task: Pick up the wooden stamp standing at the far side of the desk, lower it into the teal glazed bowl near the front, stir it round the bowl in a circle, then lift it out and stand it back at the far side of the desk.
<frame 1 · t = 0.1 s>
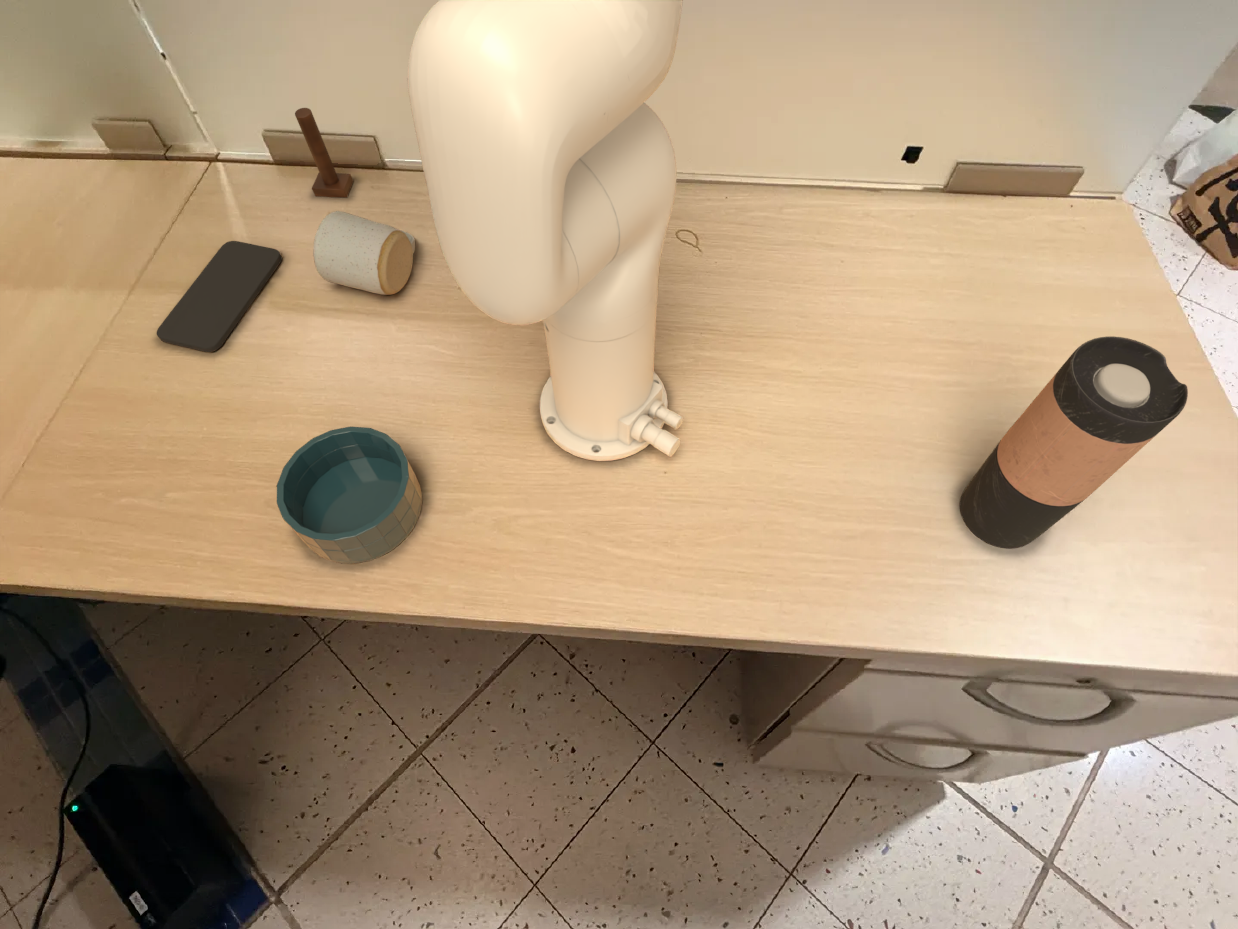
travel mug: (998, 514, 66), on the table
bowl: (361, 507, 67), on the table
wooden stamp: (334, 188, 90), on the table
ceramic mug: (379, 272, 83), on the table
phone: (224, 297, 81), on the table
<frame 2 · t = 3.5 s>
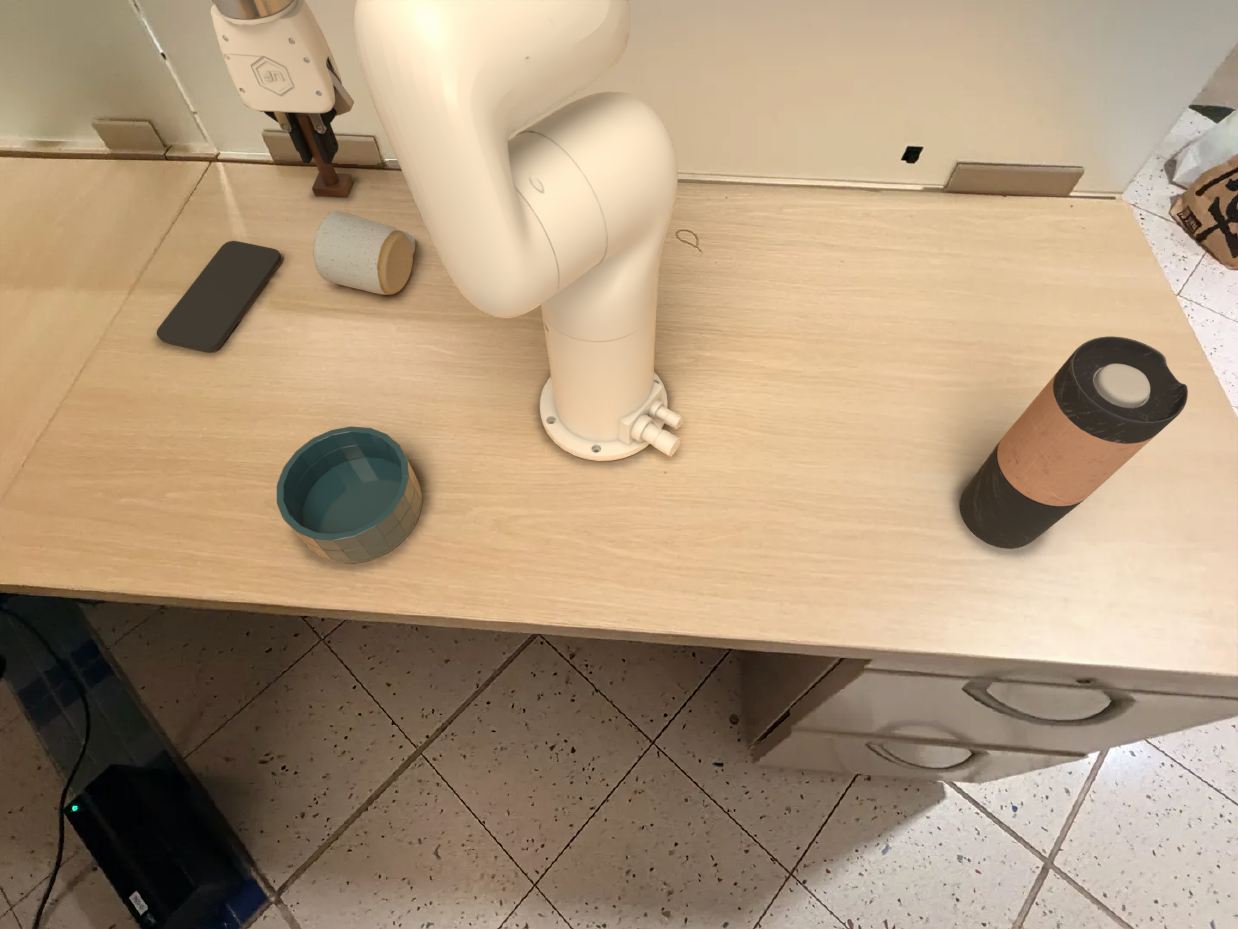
hand: (320, 155, 86), 5 cm above the table, tool pointing down, fingers closed on wooden stamp
wooden stamp: (334, 188, 90), on the table, touching gripper
everything else where it was.
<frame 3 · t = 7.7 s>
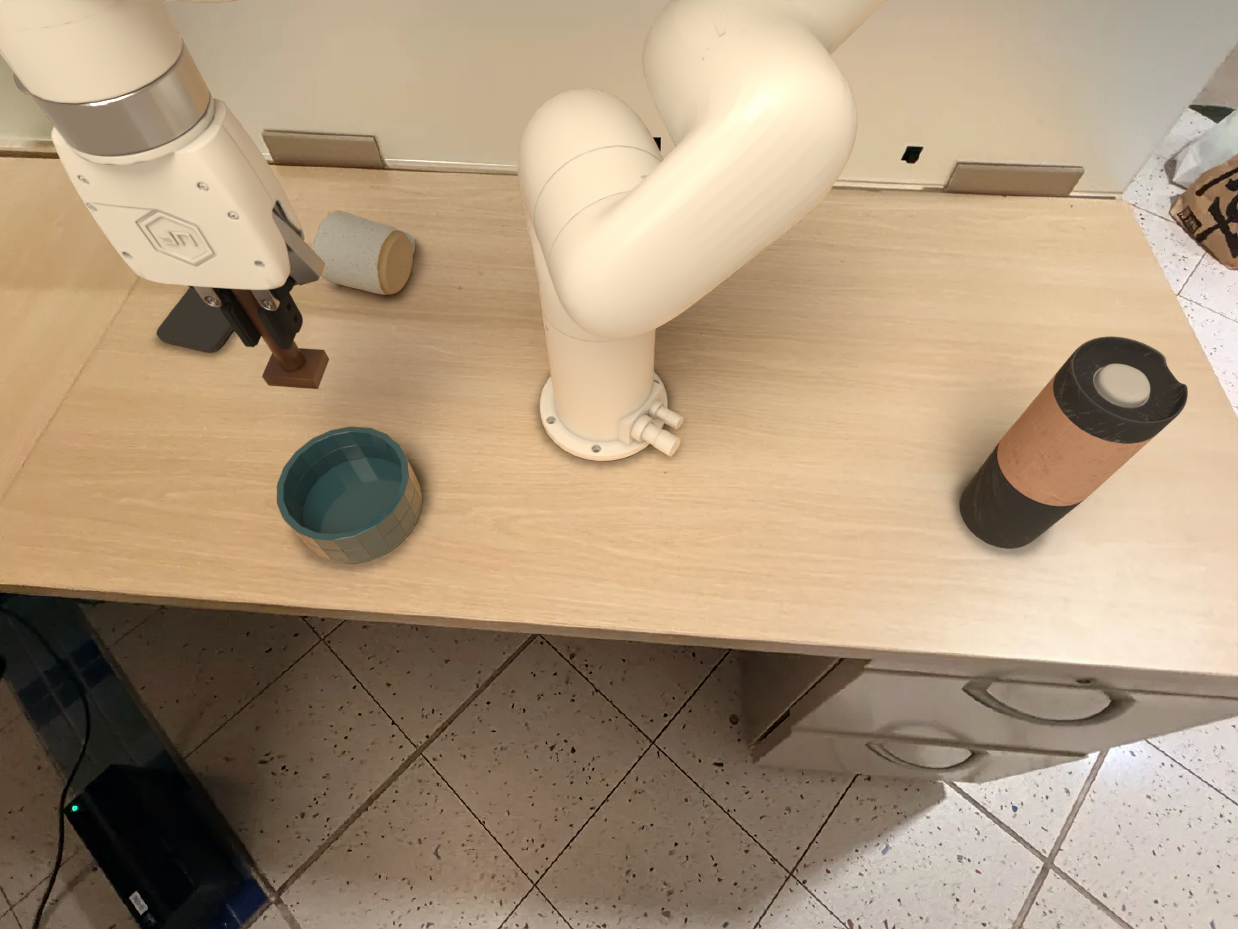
hand: (274, 332, 53), 19 cm above the table, tool pointing down, fingers closed on wooden stamp
wooden stamp: (299, 372, 57), point 14 cm above the table, touching gripper
everything else where it was.
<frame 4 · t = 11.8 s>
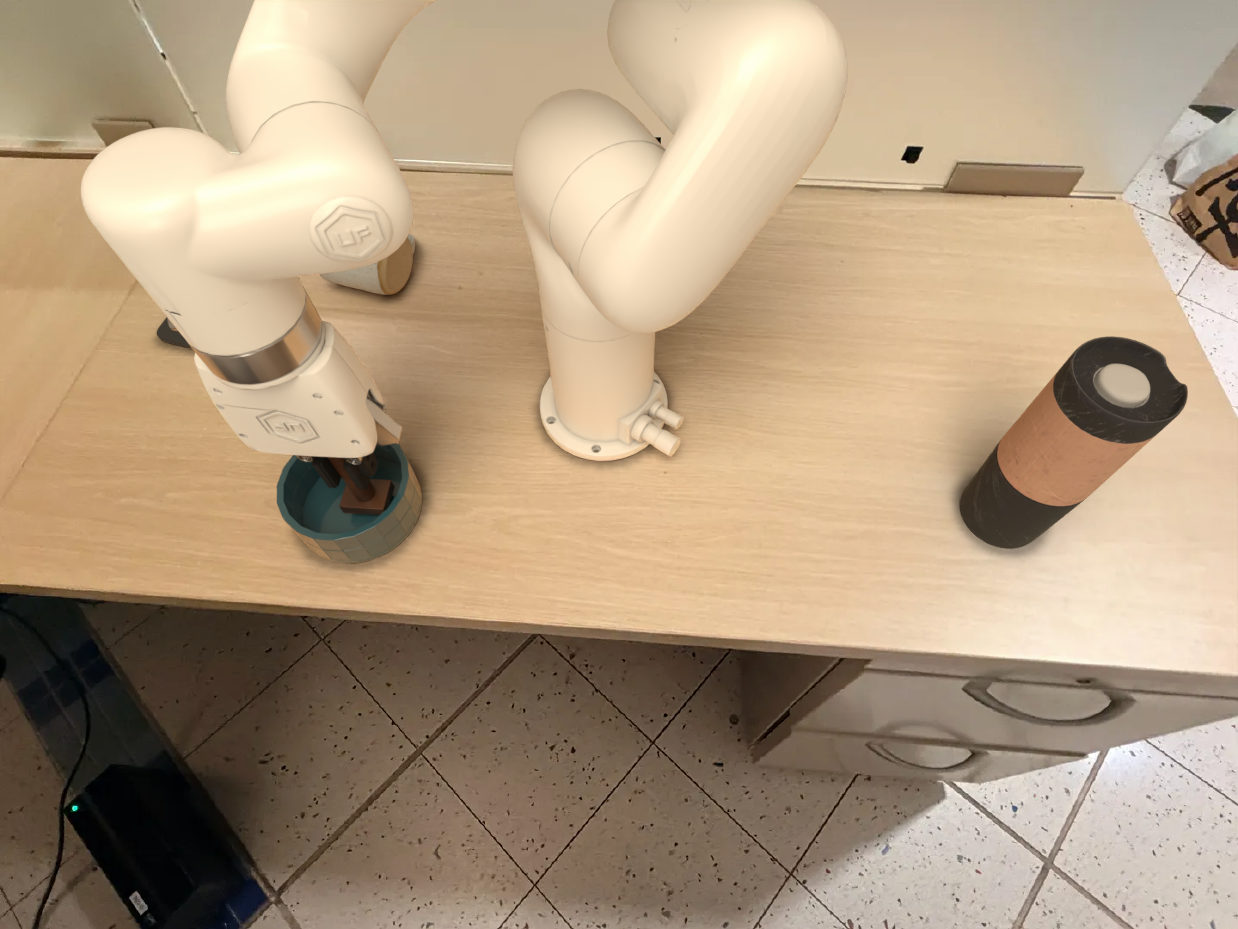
hand: (352, 473, 62), 6 cm above the table, tool pointing down, fingers closed on wooden stamp
wooden stamp: (369, 499, 66), point 1 cm above the table, touching gripper
everything else where it was.
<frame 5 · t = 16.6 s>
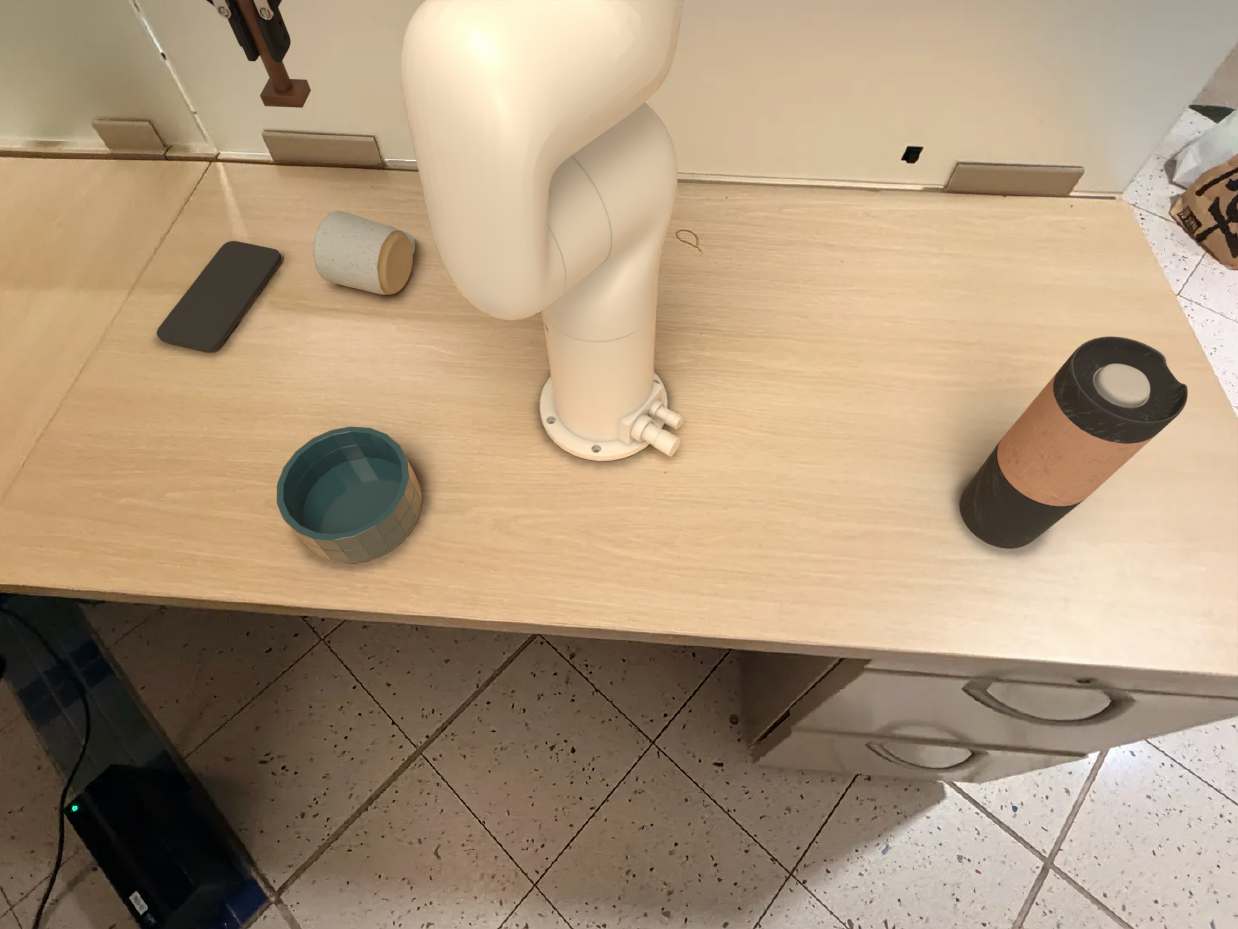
hand: (269, 52, 71), 19 cm above the table, tool pointing down, fingers closed on wooden stamp
wooden stamp: (288, 98, 75), point 15 cm above the table, touching gripper
everything else where it was.
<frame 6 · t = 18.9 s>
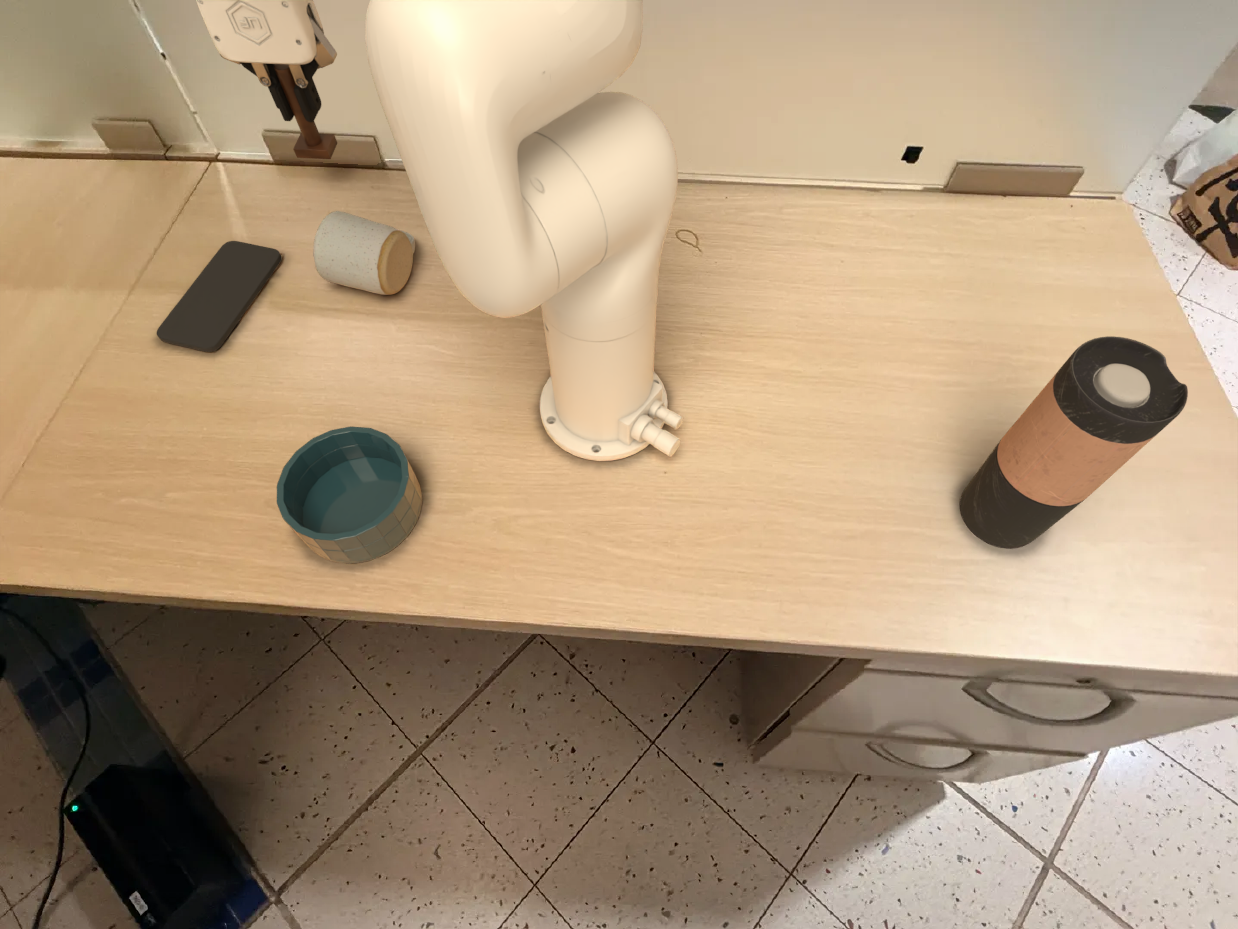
hand: (302, 113, 81), 10 cm above the table, tool pointing down, fingers closed on wooden stamp
wooden stamp: (317, 150, 85), point 5 cm above the table, touching gripper
everything else where it was.
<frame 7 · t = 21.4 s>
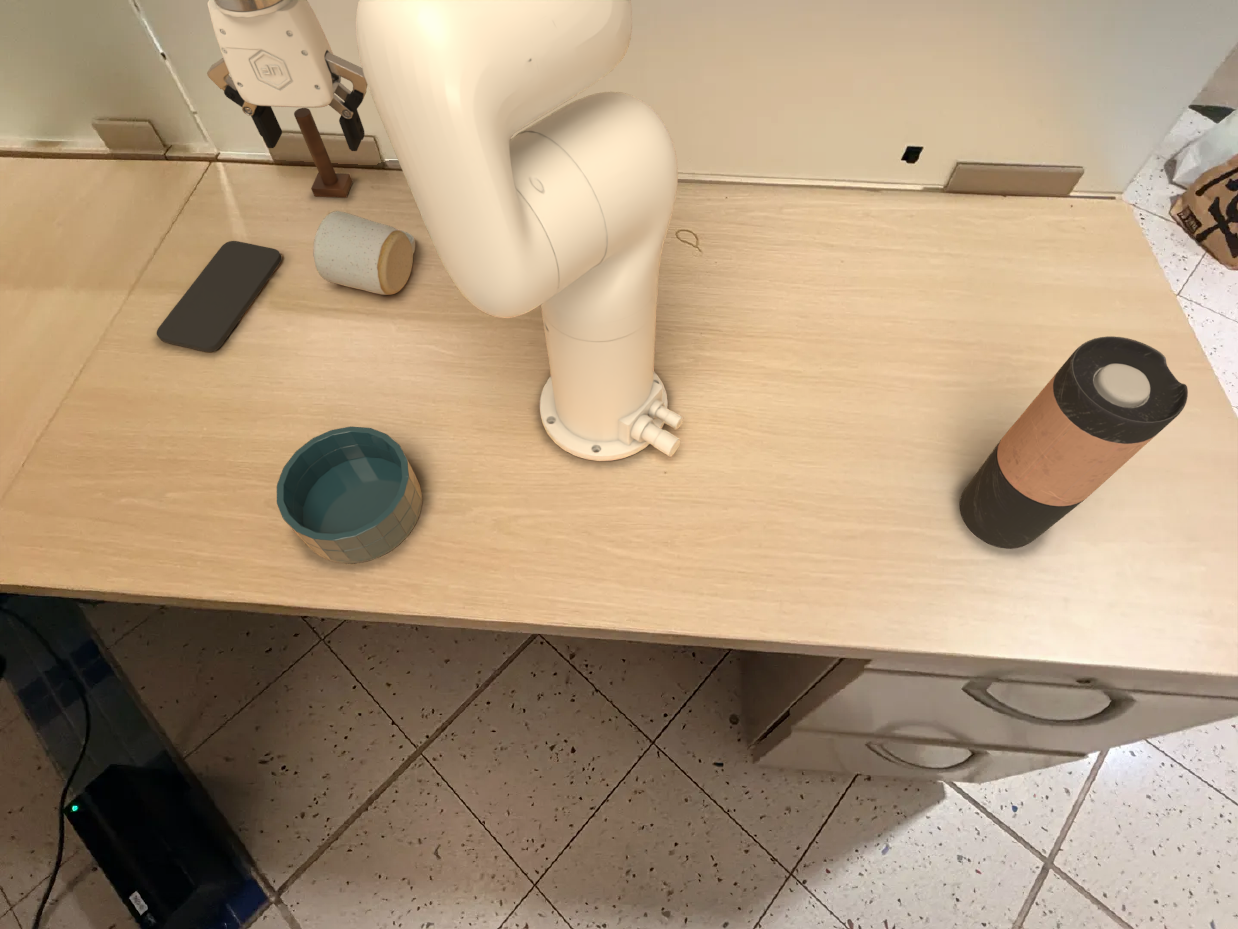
hand: (316, 142, 84), 7 cm above the table, tool pointing down, fingers open, 9 cm apart
wooden stamp: (333, 189, 90), on the table
everything else where it was.
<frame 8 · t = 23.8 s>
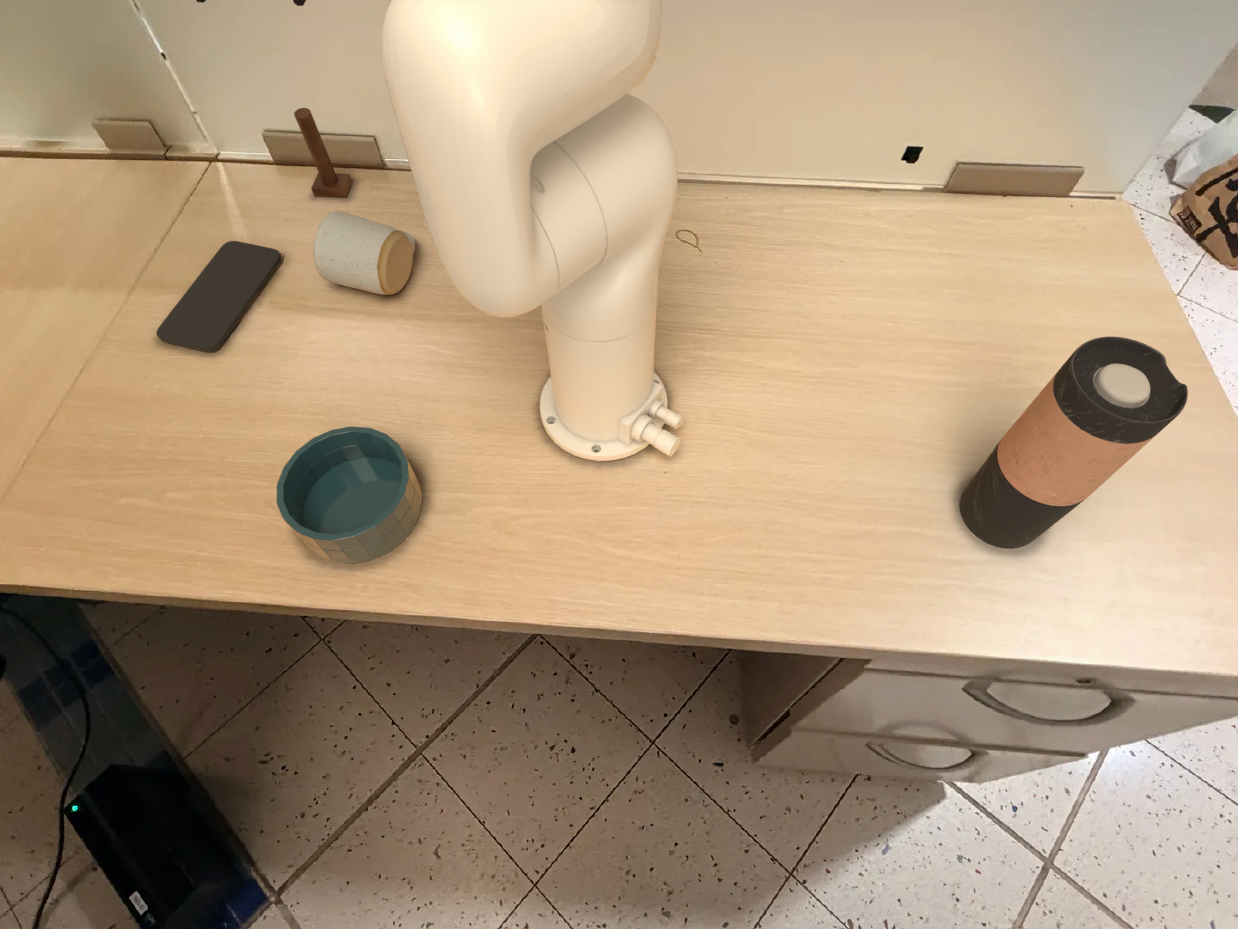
nothing on the table moved.
at the end: wooden stamp 0.1 cm from the target spot on the table beside the bowl, on the table; wooden stamp tilted 0°; the gripper is holding nothing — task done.
